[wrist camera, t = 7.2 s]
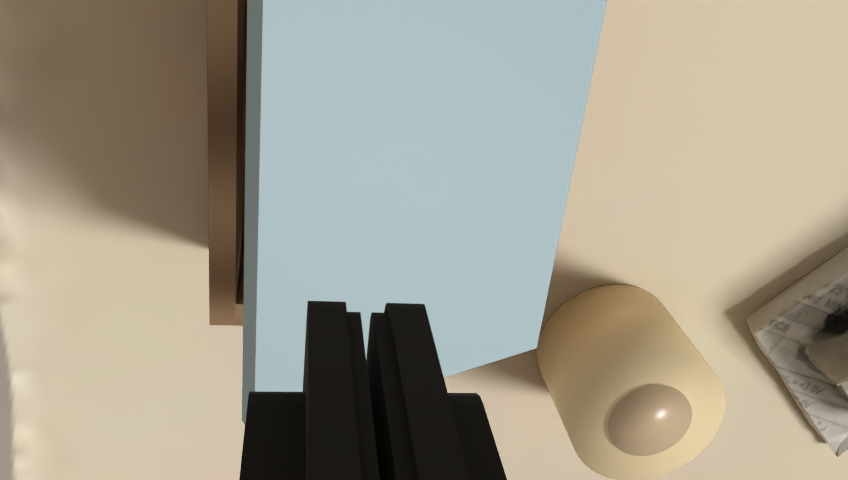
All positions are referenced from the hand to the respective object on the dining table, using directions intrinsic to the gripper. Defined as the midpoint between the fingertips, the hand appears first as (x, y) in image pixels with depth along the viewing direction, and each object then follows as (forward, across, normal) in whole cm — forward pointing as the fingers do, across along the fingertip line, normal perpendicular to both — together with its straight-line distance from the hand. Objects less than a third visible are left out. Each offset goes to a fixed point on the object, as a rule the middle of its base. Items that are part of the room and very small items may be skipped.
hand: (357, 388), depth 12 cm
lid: (+10, -2, 0) cm, 11 cm away
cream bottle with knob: (+18, -12, +11) cm, 25 cm away
